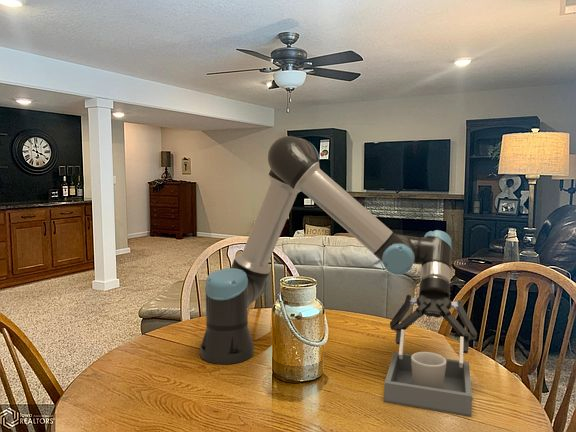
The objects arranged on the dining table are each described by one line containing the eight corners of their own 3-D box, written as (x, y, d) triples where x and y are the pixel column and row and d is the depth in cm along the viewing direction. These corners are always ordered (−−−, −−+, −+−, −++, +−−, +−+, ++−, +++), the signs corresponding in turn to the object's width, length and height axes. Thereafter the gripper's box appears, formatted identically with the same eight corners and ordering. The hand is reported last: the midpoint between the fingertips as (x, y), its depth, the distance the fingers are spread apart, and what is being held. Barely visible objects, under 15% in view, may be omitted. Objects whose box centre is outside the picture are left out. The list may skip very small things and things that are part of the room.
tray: (383, 401, 103) (384, 382, 103) (393, 368, 121) (393, 351, 120) (471, 416, 97) (472, 396, 97) (468, 379, 114) (468, 361, 114)
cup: (404, 377, 115) (405, 346, 114) (436, 378, 114) (438, 347, 113) (414, 398, 104) (415, 365, 103) (449, 399, 103) (451, 366, 103)
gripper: (485, 295, 118) (486, 375, 106) (387, 286, 126) (378, 359, 114) (488, 280, 113) (489, 362, 100) (385, 271, 121) (375, 347, 109)
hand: (430, 361), depth 107 cm, fingers open, 13 cm apart
